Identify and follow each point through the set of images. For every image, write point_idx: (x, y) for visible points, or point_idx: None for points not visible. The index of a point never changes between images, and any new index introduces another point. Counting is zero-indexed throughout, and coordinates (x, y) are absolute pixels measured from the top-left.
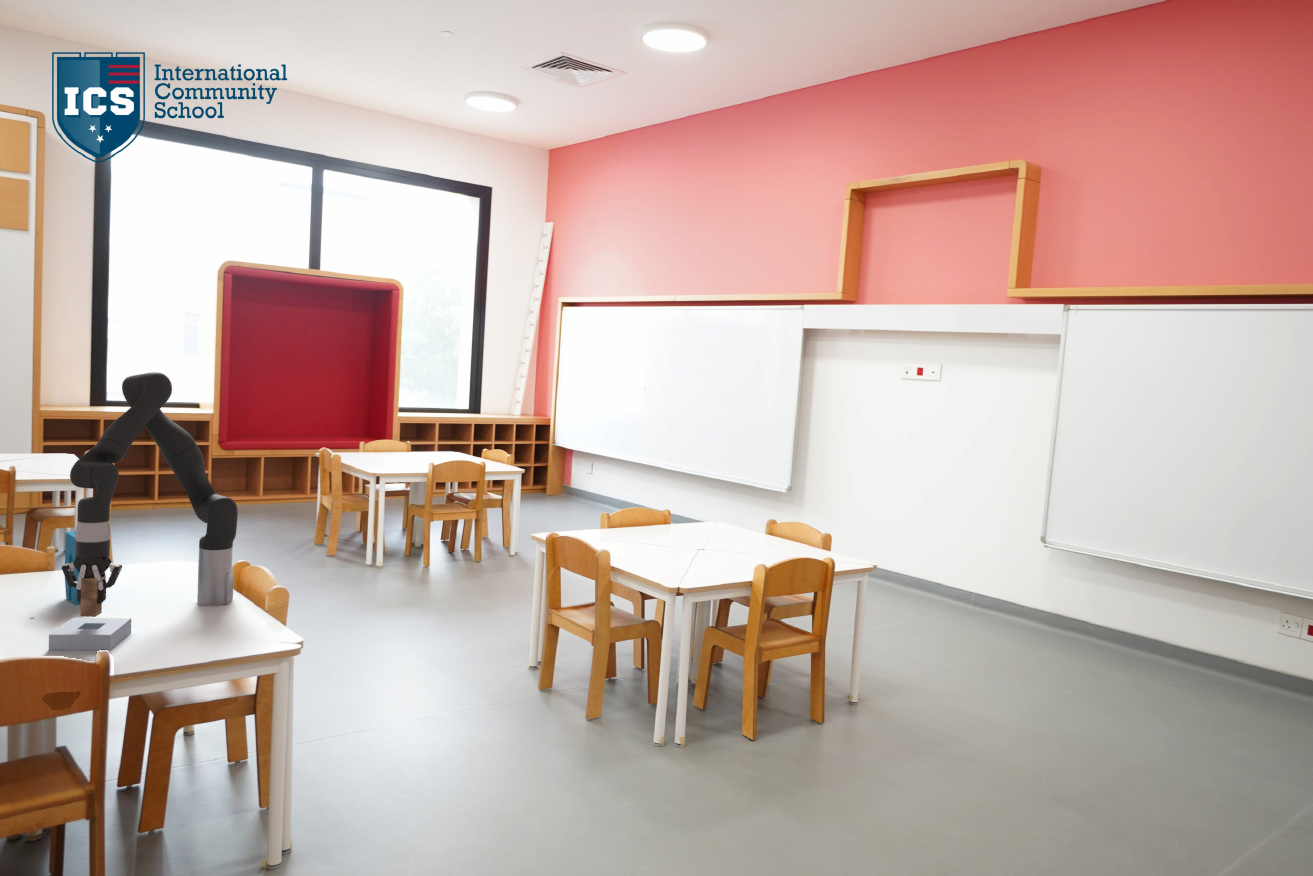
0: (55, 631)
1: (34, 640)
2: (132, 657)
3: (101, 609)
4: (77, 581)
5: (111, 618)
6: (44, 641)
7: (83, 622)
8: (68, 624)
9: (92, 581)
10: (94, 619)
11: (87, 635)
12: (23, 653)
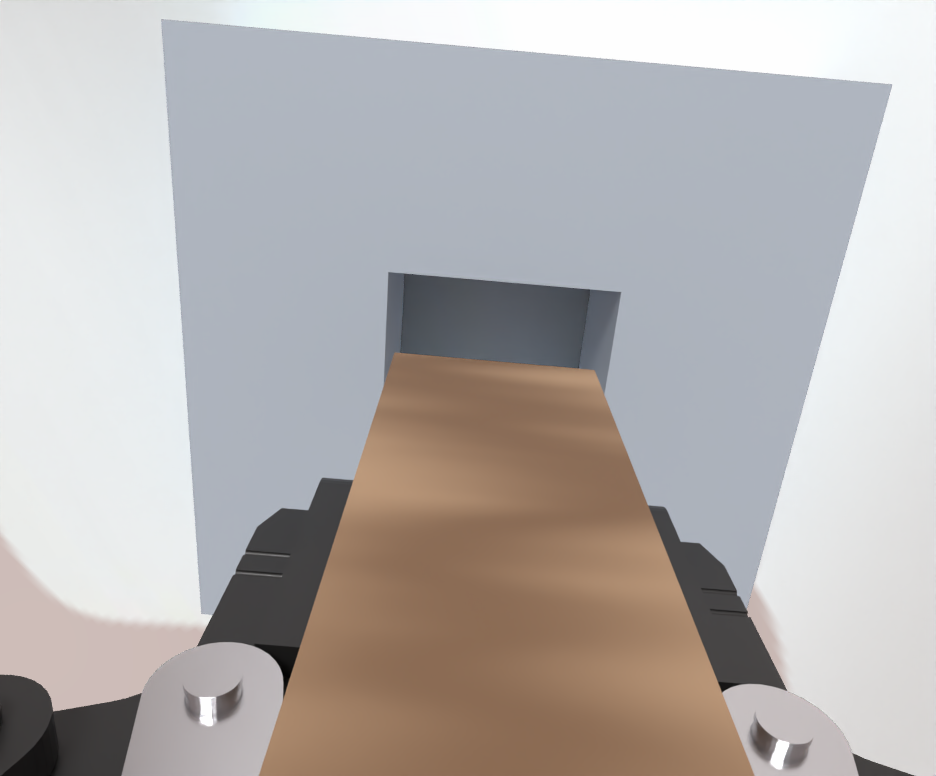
0: (215, 537)
1: (4, 272)
2: (862, 711)
3: (600, 392)
4: (10, 764)
5: (644, 79)
6: (103, 308)
7: (361, 242)
8: (231, 315)
9: None
10: (447, 117)
11: None
12: (108, 577)
